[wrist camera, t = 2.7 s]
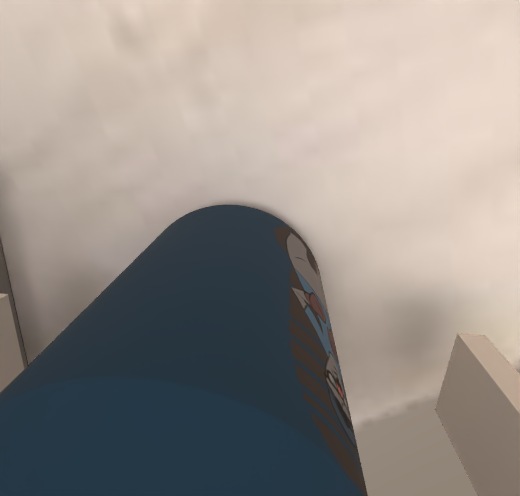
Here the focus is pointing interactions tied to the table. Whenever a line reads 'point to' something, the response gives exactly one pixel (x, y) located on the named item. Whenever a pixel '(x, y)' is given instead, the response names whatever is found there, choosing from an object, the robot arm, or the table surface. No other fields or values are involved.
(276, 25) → the table surface
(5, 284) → the bin
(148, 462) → the soda can
